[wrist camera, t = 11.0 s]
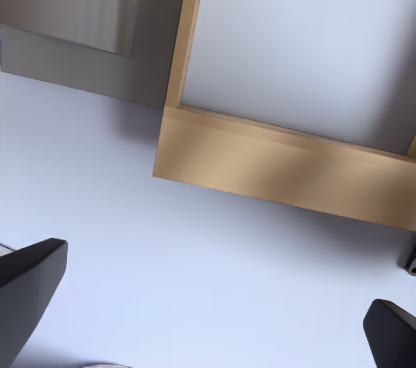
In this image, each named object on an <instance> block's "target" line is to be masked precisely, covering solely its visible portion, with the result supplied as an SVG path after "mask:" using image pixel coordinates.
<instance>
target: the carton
mask: <svg viewBox="0 0 416 368" xmlns="http://www.w3.org/2000/svg"><path fill="white" fill-rule="evenodd" d="M199 4H200V0H183V3H182V9H181V15H180V20H179V26H178V32H177V37H176V43H175V49H174V55H173V60H172V66H171V72H170V78H169V83H168V89H167V95H166V101H165V106H164V112H163V118H162V124H161V129H160V135H159V141H158V146H157V152H156V158H155V164H154V169H153V175H152V176H153V177H158V178H163V179H168V180H172V181H177V182H182V183H187V184H191V185H196V186H201V187H206V188H210V189H215V190H220V191H225V192H229V193H234V194H239V195H244V196H248V197H253V198H258V199H263V200H267V201H272V202H277V203H282V204H286V205H291V206H296V207H301V208H305V209H310V210H315V211H320V212H324V213H329V214H334V215H339V216H343V217H348V218H353V219H358V220H362V221H367V222H372V223H377V224H381V225H386V226H391V227H396V228H400V229H405V230H410V231H414V232H416V134H415V137H414V139H413V141H412V143H411V145H410V148H409V150H408V152H407V154H406V156H403V155H399V154H395V153H390V152H386V151H382V150H378V149H373V148H369V147H365V146H360V145H356V144H352V143H347V142H343V141H339V140H335V139H330V138H326V137H322V136H317V135H313V134H309V133H304V132H300V131H296V130H292V129H287V128H283V127H279V126H274V125H270V124H266V123H261V122H257V121H253V120H249V119H244V118H240V117H236V116H231V115H227V114H223V113H218V112H214V111H210V110H206V109H201V108H197V107H193V106H188V105H184V104H181V98H182V93H183V88H184V83H185V77H186V72H187V67H188V62H189V57H190V51H191V46H192V41H193V36H194V30H195V25H196V20H197V15H198V9H199Z"/></svg>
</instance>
